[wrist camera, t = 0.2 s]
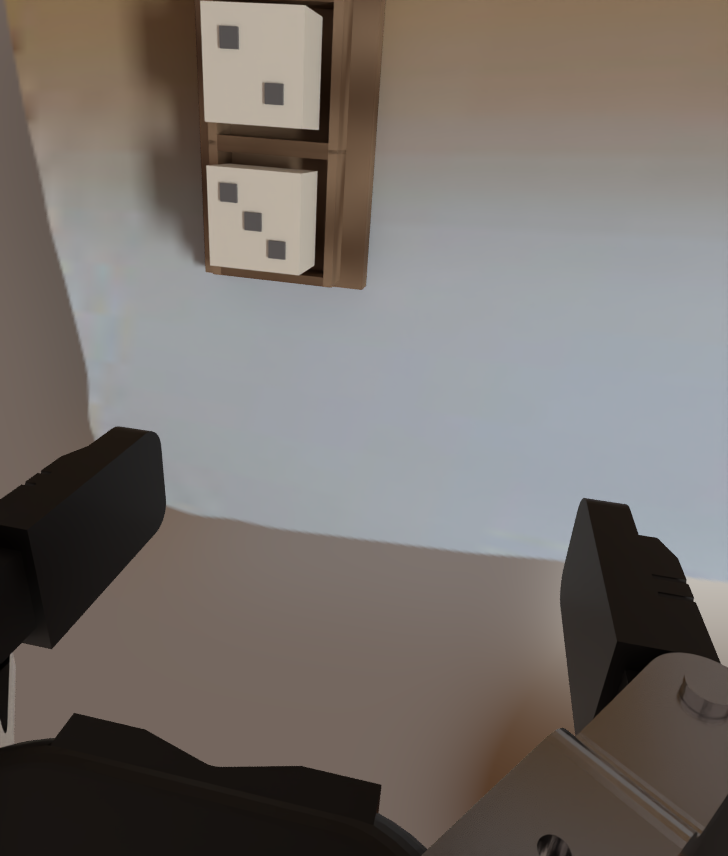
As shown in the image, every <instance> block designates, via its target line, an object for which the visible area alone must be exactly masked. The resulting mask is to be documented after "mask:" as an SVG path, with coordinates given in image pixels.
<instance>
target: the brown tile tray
mask: <svg viewBox="0 0 728 856" xmlns="http://www.w3.org/2000/svg"><path fill="white" fill-rule="evenodd" d="M200 1H220V2H243V3H266V4H289V5H306V6H307V7H308V8H310V9H311V10H313V11H314V12H316V13H317V14H319V15H320V16H322V17H323V19H322V50H321V81H320V111H319V130H312V129H296V128H283V127H270V126H256V125H243V124H230V123H216V122H205V116H204V89H203V63H202V36H201V9H200ZM384 14H385V0H195V20H196V45H197V69H198V94H199V119H200V143H201V168H202V192H203V217H204V242H205V266H206V272H211V273H213V274H218V275H227V276H236V277H244V278H253V279H262V280H271V281H279V282H288V283H297V284H305V285H314V286H323V287H342V288H351V289H359V290H362V289H363V288H364V287H365V286H366V277H367V263H368V248H369V234H370V219H371V204H372V190H373V175H374V160H375V146H376V131H377V116H378V102H379V87H380V73H381V58H382V43H383V29H384ZM218 164H240V165H252V166H264V167H276V168H287V169H299V170H311V171H318V172H317V203H316V233H315V264H314V266H313V267H311V268H310V269H308V270H307V271H305V272H303V273H302V274H300V275H291V274H282V273H273V272H264V271H255V270H247V269H238V268H229V267H220V266H211V265H210V250H209V223H208V196H207V170H206V165H218Z"/></svg>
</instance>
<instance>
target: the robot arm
mask: <svg viewBox="0 0 728 856" xmlns="http://www.w3.org/2000/svg"><path fill="white" fill-rule="evenodd" d="M165 508H166V496H165V485H164V473H163V462H162V451H161V442H160V439H159V437H158V435H157V434H156V433H155V432H152V431H146V430H139V429H132V428H126V427H114V428H112V429H111V430H110V431H108V432H107V433H105V434H104V435H103V436H101V437H100V438H99V439H97V440H96V441H94V442H93V443H92V444H90V445H89V446H87V447H84V448H82V449H79V450H77V451H74V452H71V453H69V454H66V455H64V456H61V457H60V458H58V459H57V460H55V461H54V462H53V463H52V464H50V465H48V466H47V467H46V468H44V469H43V470H42V471H41V474H40V473H37V474H36V475H34V476H33V477H31V478H30V479H29V480H27V481H26V483H25V485H20V486H19V487H17V488H16V489H14V490H13V491H12V492H10V493H9V494H7V495H6V496H5V497H3V498H2V499H0V856H728V668H727V667H726V666H723V665H722V664H721V663H720V661H719V658H718V656H717V653H716V651H715V648H714V646H713V643H712V641H711V638H710V636H709V634H708V631H707V629H706V626H705V624H704V622H703V619H702V617H701V614H700V612H699V609H698V607H697V605H696V603H695V602H693V599H694V597H693V594H692V592H691V589H690V587H689V585H688V584H686V577H685V575H684V572H683V570H682V567H681V565H680V563H679V560H678V558H677V557H676V556H675V555H674V554H673V553H672V552H671V551H670V550H669V549H668V548H667V547H666V546H665V545H664V544H663V543H662V542H661V541H660V540H659V539H658V538H654V537H648V536H642V535H638V532H637V529H636V526H635V523H634V520H633V517H632V514H631V511H630V508H629V506H628V505H626V504H620V503H613V502H607V501H600V500H594V499H587V498H583V499H582V500H581V502H580V504H579V507H578V511H577V515H576V519H575V523H574V527H573V532H572V536H571V540H570V544H569V548H568V552H567V556H566V561H565V565H564V569H563V574H562V580H561V591H560V606H561V614H562V624H563V632H564V641H565V649H566V658H567V667H568V676H569V685H570V693H571V702H572V710H573V719H574V728H575V736H574V735H573V734H571V733H570V732H569V731H567V730H566V729H564V728H560V729H557V730H555V731H554V732H552V733H551V734H550V735H549V736H547V737H546V738H545V739H544V740H543V741H542V742H541V743H540V744H539V745H538V746H537V747H536V748H534V749H533V750H532V751H531V752H530V753H529V754H528V755H527V756H526V757H525V758H524V759H523V760H522V761H521V762H520V763H519V764H518V765H516V766H515V767H514V768H513V769H512V770H511V771H510V772H509V773H508V774H507V775H506V776H505V777H504V778H503V779H502V780H501V781H499V782H498V783H497V784H496V785H495V786H494V787H493V788H492V789H491V790H490V791H489V792H488V793H487V794H486V795H485V796H484V797H483V798H481V799H480V801H478V802H477V803H476V804H475V805H474V806H473V807H472V808H471V809H470V810H469V811H468V812H467V813H466V814H465V815H463V816H462V817H461V818H460V819H459V820H458V821H457V822H456V823H455V824H454V825H453V826H452V827H451V828H450V829H449V830H448V831H446V832H445V834H443V835H442V836H441V837H440V838H439V839H438V840H437V841H436V842H435V843H434V844H433V845H432V846H431V847H430V848H428V849H426V848H425V847H424V846H423V845H422V844H421V843H420V842H419V841H418V840H417V839H416V838H414V837H413V836H412V835H411V834H410V833H408V832H407V831H405V830H404V829H403V828H401V827H400V826H398V825H397V824H396V823H394V822H393V821H391V820H389V819H387V818H386V817H384V816H382V815H380V814H379V813H378V812H379V802H380V794H381V785H380V784H376V783H371V782H367V781H363V780H359V779H354V778H350V777H346V776H341V775H337V774H333V773H329V772H324V771H320V770H315V769H312V768H307V767H303V766H270V767H269V766H268V767H215V766H211V765H208V764H206V763H204V762H202V761H200V760H198V759H197V758H195V757H193V756H191V755H189V754H188V753H186V752H184V751H182V750H181V749H179V748H177V747H175V746H173V745H172V744H170V743H168V742H166V741H164V740H163V739H161V738H159V737H157V736H155V735H154V734H152V733H150V732H148V731H147V730H145V729H140V728H136V727H131V726H128V725H123V724H119V723H114V722H111V721H106V720H102V719H98V718H93V717H89V716H85V715H81V714H76V713H74V714H73V715H72V716H71V718H70V719H69V721H68V722H67V723H66V725H65V726H64V727H63V729H62V730H61V731H60V732H59V734H58V735H57V736H56V738H49V739H41V740H33V741H26V742H21V743H17V744H14V717H15V677H16V666H15V660H14V656H13V651H14V650H15V649H16V648H17V647H18V646H19V645H20V644H21V643H26V644H30V645H35V646H39V647H44V648H49V649H52V648H53V647H54V646H55V645H56V644H57V643H58V642H59V640H60V639H61V638H62V637H63V636H64V635H65V634H66V633H67V632H68V630H69V629H70V628H71V627H72V626H73V625H74V624H75V623H76V621H77V620H78V619H79V618H80V617H81V616H82V615H83V613H85V611H86V610H87V609H88V608H89V607H90V606H91V605H92V604H93V602H94V601H95V600H96V599H97V598H98V597H99V596H100V594H102V592H103V591H104V590H105V589H106V588H107V587H108V586H109V585H110V583H111V582H112V581H113V580H114V579H115V578H116V577H117V576H118V575H119V573H120V572H121V571H122V570H123V569H124V568H125V567H126V566H127V564H128V563H129V562H130V561H131V560H132V559H133V558H134V557H135V556H136V554H137V553H138V552H139V551H140V550H141V549H142V548H143V547H144V545H145V544H146V543H147V542H148V541H149V540H150V539H151V538H152V536H153V535H154V534H155V533H156V532H157V530H158V529H159V527H160V525H161V523H162V521H163V518H164V514H165Z"/></svg>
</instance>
